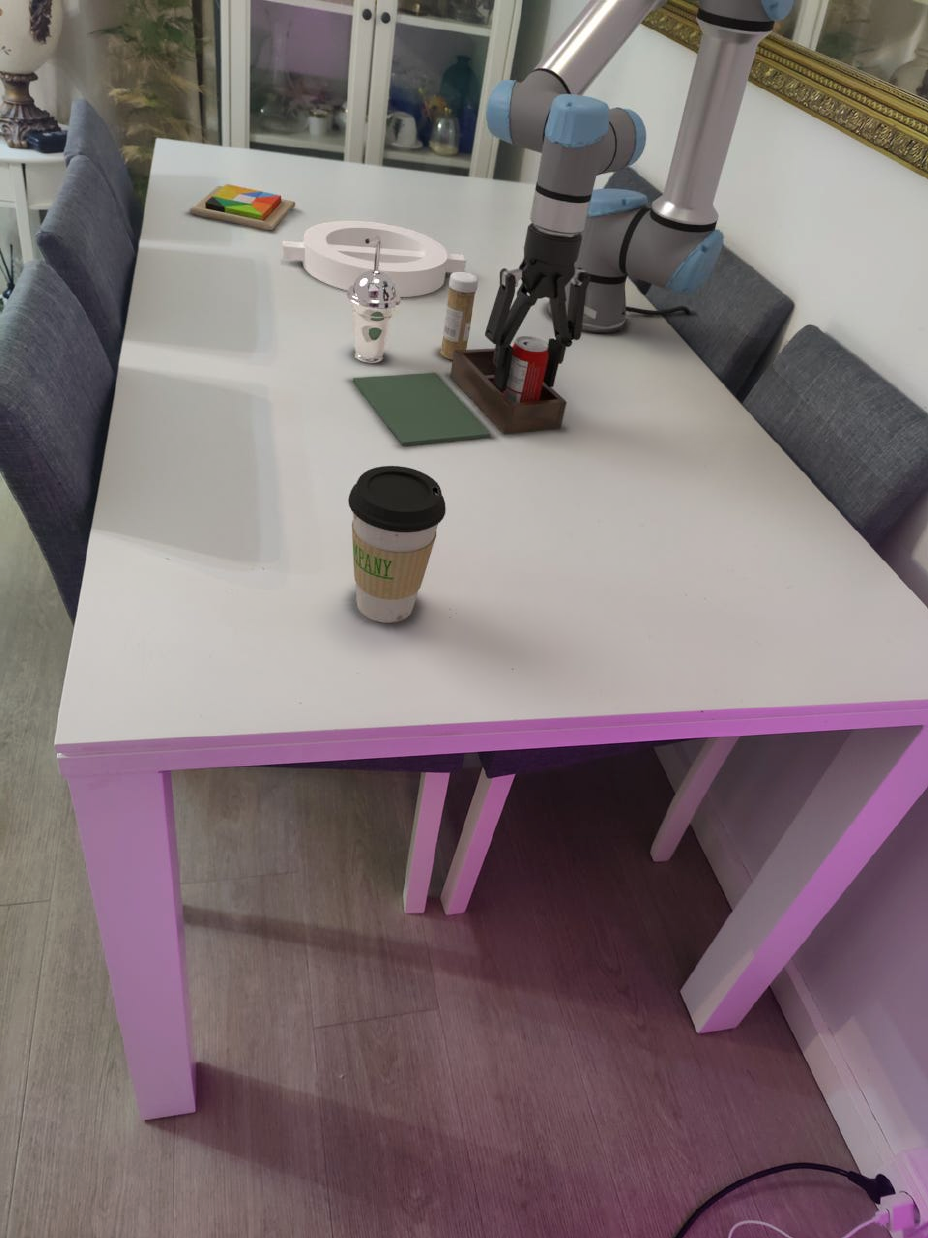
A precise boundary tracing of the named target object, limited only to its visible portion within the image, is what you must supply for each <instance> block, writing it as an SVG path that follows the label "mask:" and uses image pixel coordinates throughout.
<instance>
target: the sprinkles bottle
mask: <svg viewBox="0 0 928 1238" xmlns="http://www.w3.org/2000/svg"><path fill="white" fill-rule="evenodd" d="M448 286H449V288H448V289H449V291H448V297H447V303H446V308H445V315H444V323H443V330H442V340H441V348H440V350H439V353H440V355H441V356H442V357H443V358H445V359H448V360H452V361H453V355H454V351H455V350H468V342H469V338H470V330H471V325H472V317H473V310H474V309H473V308H474V303H475V297H476V293H477V290H478V287H479V278H478V276H477V275H475V274H473V273H471V272H466V271H464V272H454V273H453V272H451V274H450V276H449V281H448Z"/></svg>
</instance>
